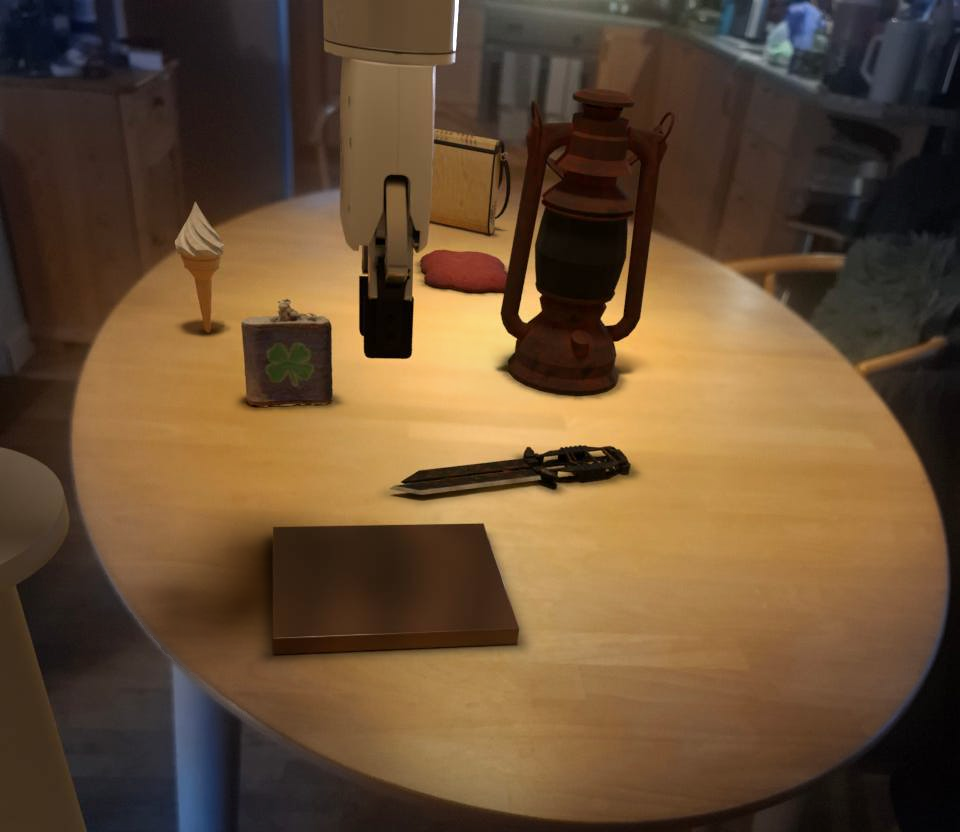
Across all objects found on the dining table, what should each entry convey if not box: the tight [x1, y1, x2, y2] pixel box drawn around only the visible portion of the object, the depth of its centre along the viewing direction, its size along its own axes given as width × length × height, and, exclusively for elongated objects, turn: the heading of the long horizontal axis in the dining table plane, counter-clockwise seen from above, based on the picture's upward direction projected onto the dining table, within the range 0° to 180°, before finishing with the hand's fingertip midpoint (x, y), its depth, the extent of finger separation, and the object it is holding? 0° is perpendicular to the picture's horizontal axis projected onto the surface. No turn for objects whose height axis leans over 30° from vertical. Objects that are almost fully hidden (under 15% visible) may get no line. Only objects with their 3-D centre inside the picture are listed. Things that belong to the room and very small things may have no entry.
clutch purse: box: [430, 128, 512, 236], centre depth 158 cm, size 30×7×15 cm, turn 66°
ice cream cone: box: [174, 201, 225, 334], centre depth 106 cm, size 6×6×15 cm
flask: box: [240, 298, 334, 408], centre depth 94 cm, size 9×3×11 cm, turn 106°
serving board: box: [272, 522, 520, 655], centre depth 71 cm, size 18×15×2 cm
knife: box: [389, 444, 631, 496], centre depth 88 cm, size 25×6×1 cm, turn 108°
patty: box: [419, 249, 508, 293], centre depth 137 cm, size 18×14×2 cm
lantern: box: [500, 87, 676, 397], centre depth 101 cm, size 17×14×30 cm
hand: (384, 343), depth 61 cm, fingers open, 3 cm apart
